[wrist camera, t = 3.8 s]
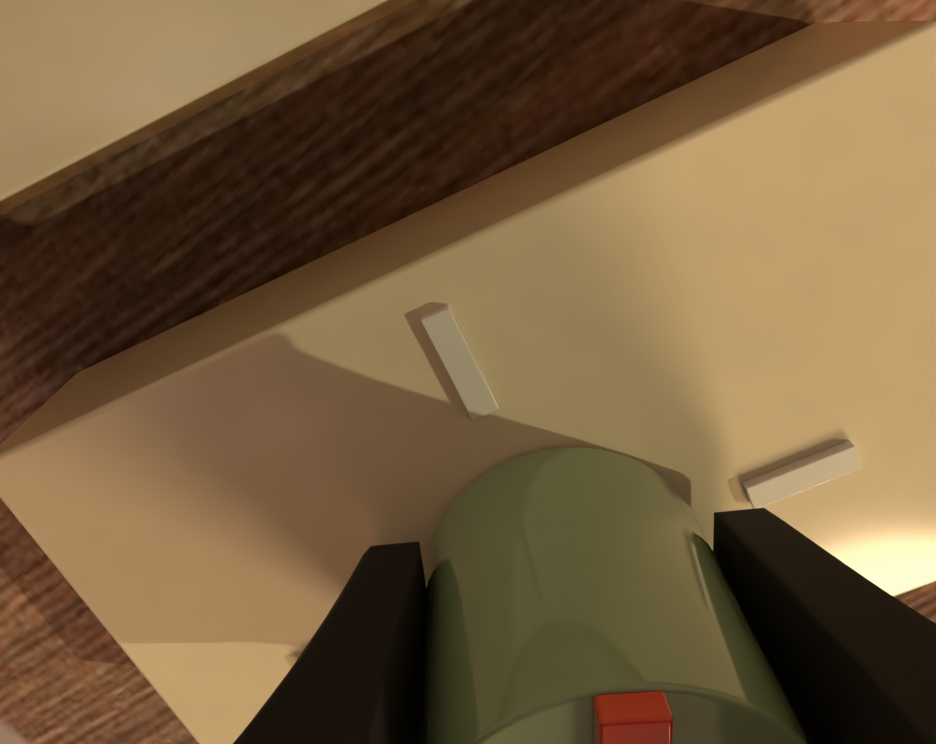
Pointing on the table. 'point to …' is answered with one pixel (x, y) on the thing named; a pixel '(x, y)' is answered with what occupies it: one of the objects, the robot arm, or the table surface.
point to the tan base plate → (139, 71)
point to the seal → (587, 616)
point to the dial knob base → (529, 366)
